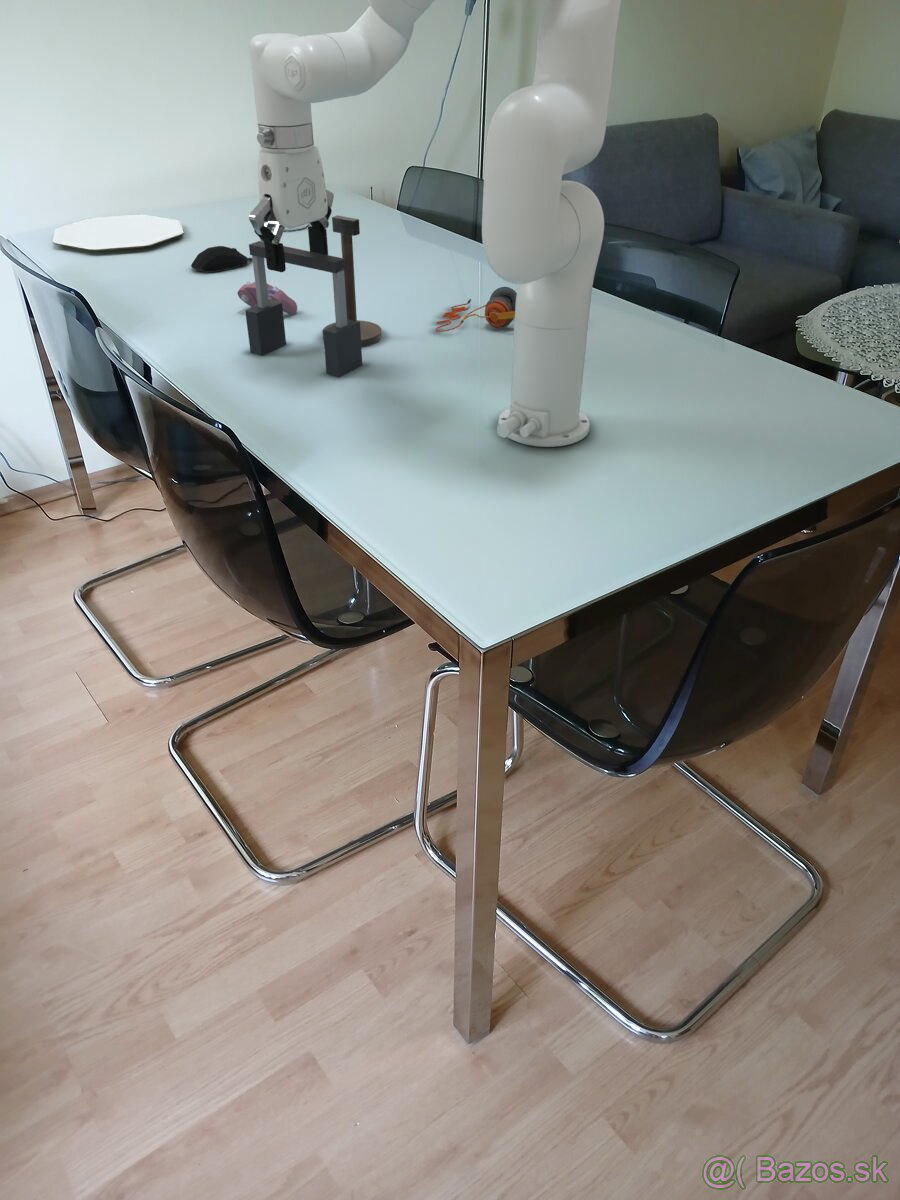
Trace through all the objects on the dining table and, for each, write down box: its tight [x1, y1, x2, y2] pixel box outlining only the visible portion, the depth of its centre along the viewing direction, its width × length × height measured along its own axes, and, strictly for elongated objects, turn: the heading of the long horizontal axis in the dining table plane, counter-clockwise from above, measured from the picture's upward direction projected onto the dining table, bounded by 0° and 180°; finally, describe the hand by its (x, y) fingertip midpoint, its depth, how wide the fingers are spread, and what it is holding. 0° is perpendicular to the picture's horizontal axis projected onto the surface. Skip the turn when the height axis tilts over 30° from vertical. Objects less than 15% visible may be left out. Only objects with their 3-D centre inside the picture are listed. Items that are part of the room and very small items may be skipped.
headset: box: [244, 240, 363, 378], centre depth 142 cm, size 6×18×17 cm, turn 57°
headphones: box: [435, 286, 517, 333], centre depth 160 cm, size 17×5×20 cm
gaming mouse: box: [190, 245, 253, 273], centre depth 187 cm, size 6×15×4 cm, turn 127°
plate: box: [52, 214, 185, 252], centre depth 204 cm, size 28×28×2 cm
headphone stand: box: [321, 215, 383, 348], centre depth 149 cm, size 10×10×19 cm
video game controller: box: [237, 281, 298, 315], centre depth 163 cm, size 10×5×7 cm, turn 62°
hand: (298, 262), depth 138 cm, fingers open, 9 cm apart
